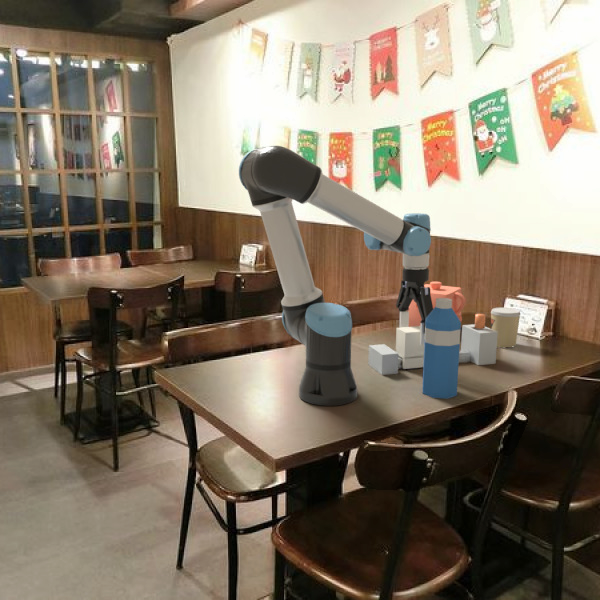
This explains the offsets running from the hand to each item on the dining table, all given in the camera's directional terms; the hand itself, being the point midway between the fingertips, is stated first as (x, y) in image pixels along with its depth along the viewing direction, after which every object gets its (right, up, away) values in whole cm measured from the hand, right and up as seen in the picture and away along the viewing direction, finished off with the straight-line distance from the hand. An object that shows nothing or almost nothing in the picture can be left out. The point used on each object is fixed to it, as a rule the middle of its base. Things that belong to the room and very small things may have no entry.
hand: (414, 337), depth 176 cm
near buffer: (-9, -9, -1) cm, 13 cm away
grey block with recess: (+21, -7, +8) cm, 24 cm away
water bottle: (+3, -13, -20) cm, 24 cm away
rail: (+5, -8, +3) cm, 10 cm away
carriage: (0, -9, +2) cm, 9 cm away
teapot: (+14, 0, +41) cm, 44 cm away
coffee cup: (+35, -4, +24) cm, 42 cm away
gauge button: (+21, +3, +6) cm, 22 cm away
